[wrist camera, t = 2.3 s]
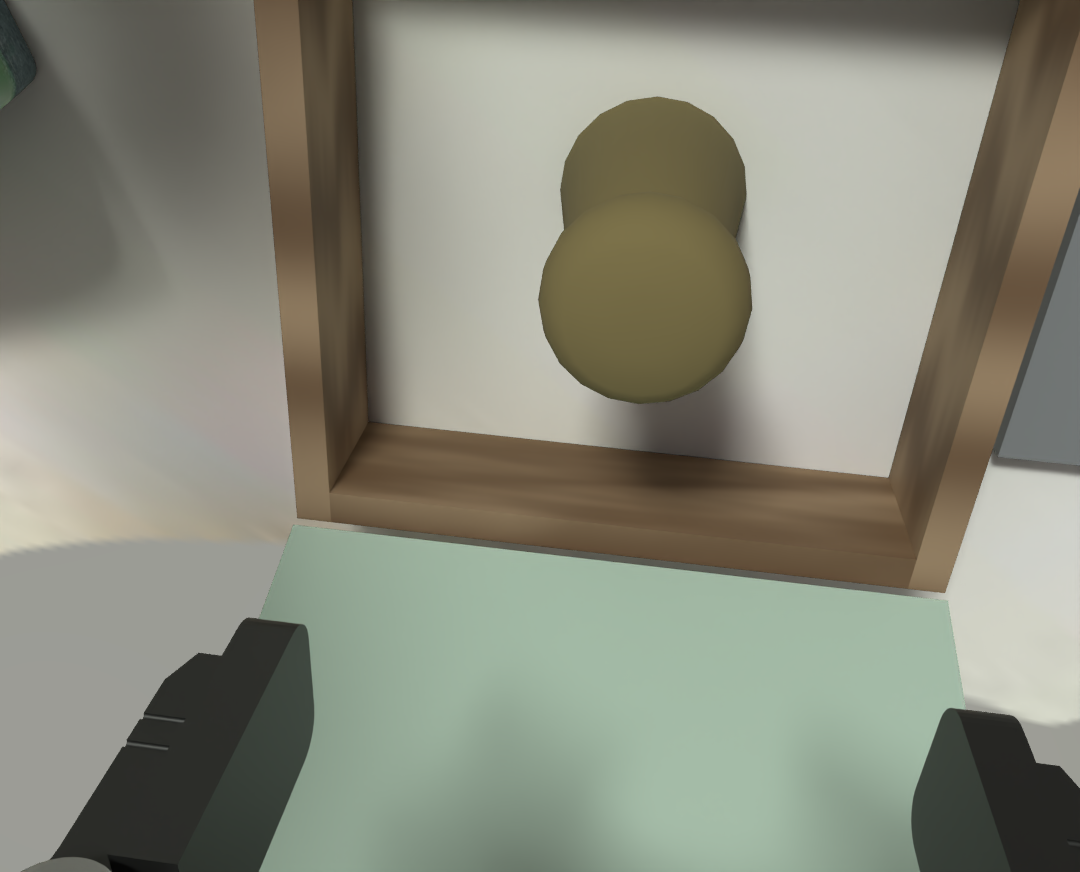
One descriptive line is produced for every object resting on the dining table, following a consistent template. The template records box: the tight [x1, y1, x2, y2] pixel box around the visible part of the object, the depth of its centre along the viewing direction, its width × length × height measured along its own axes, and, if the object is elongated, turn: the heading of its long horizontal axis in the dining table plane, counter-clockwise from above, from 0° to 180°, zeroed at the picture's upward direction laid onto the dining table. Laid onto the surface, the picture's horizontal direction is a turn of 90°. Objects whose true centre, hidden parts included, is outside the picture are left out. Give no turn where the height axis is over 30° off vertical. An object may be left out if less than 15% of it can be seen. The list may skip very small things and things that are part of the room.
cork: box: [538, 97, 752, 404], centre depth 28 cm, size 6×6×11 cm
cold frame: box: [254, 0, 1080, 593], centre depth 30 cm, size 22×22×5 cm
